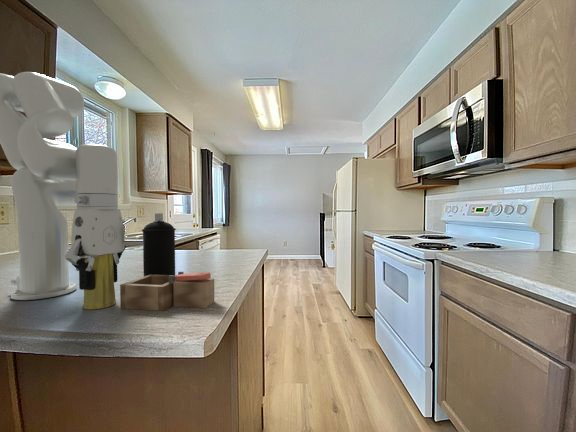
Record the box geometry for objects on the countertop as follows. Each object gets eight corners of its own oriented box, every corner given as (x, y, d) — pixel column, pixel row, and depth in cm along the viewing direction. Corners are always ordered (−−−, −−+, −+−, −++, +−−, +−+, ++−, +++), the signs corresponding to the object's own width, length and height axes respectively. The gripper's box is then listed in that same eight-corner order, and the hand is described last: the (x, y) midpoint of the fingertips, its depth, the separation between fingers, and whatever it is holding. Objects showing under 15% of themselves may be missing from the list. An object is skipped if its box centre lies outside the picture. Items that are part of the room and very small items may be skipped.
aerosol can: (183, 286, 79) (182, 213, 79) (158, 294, 72) (157, 213, 71) (161, 283, 83) (160, 213, 82) (135, 290, 75) (134, 213, 75)
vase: (99, 311, 60) (98, 242, 60) (75, 309, 61) (73, 241, 61) (122, 301, 66) (121, 239, 66) (99, 300, 67) (98, 238, 67)
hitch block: (120, 308, 62) (120, 277, 62) (150, 294, 72) (149, 268, 71) (199, 312, 59) (199, 280, 59) (219, 298, 69) (219, 270, 68)
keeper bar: (170, 281, 63) (170, 276, 63) (178, 278, 66) (177, 273, 66) (207, 279, 62) (206, 275, 62) (212, 276, 65) (212, 272, 65)
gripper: (78, 201, 54) (80, 298, 54) (139, 203, 71) (140, 277, 71) (44, 202, 55) (46, 296, 56) (112, 203, 72) (113, 276, 73)
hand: (99, 284), depth 64 cm, fingers closed on vase, 5 cm apart
